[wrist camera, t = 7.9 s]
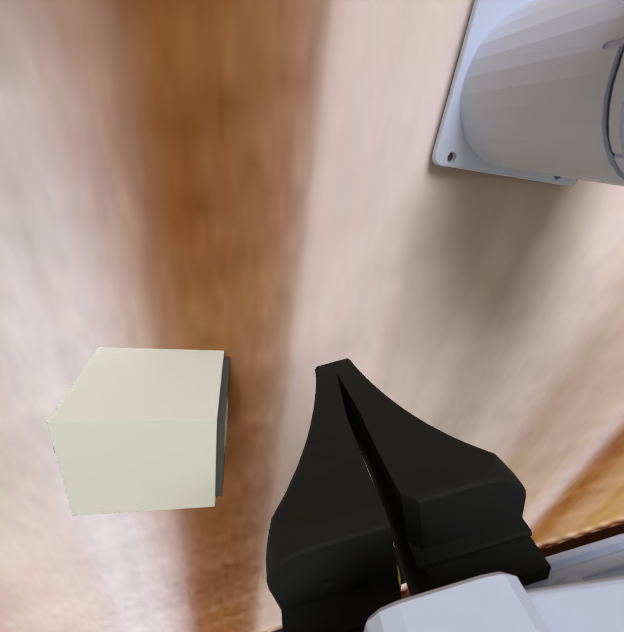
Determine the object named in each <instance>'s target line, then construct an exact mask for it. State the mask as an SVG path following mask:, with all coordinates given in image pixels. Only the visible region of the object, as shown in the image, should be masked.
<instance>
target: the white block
mask: <svg viewBox="0 0 624 632" xmlns="http://www.w3.org/2000/svg"><path fill="white" fill-rule="evenodd" d="M229 365H230V357H224V351H217V350H181V349H145V348H109V347H98V348H97V349H96V351H95V352H94V354H93V355H92V357H91V358H90V360H89V361H88V362H87V364H86V365H85V367H84V368H83V370H82V371H81V373H80V374H79V376H78V377H77V379H76V380H75V382H74V383H73V384H72V386H71V387H70V389H69V390H68V392H67V393H66V395H65V396H64V398H63V399H62V401H61V402H60V404H59V405H58V406H57V408H56V409H55V411H54V412H53V414H52V415H51V417H50V418H49V420H48V421H47V425H48V429H49V432H50V436H51V439H52V443H53V447H54V450H55V454H56V457H57V461H58V464H59V468H60V472H61V475H62V479H63V482H64V486H65V490H66V493H67V497H68V500H69V504H70V508H71V511H72V515H73V516H75V515H90V514H106V513H121V512H137V511H152V510H167V509H183V508H198V507H214V506H215V497H216V496H222V490H223V475H224V460H225V453H224V443H225V420H226V406H227V394H228V389H229Z"/></svg>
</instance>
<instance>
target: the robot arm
mask: <svg viewBox="0 0 624 632" xmlns="http://www.w3.org/2000/svg"><path fill="white" fill-rule="evenodd" d="M451 152H452V154H453V158H452V160H451V161H449V162H448V160H447V158H448V155H449V154H450V153H451ZM432 160H433V162H434V164H436V165H439V166H445V167H451V168H457V169H464V170H470V171H476V172H483V173H489V174H495V175H501V176H508V177H514V178H520V179H527V180H533V181H539V182H546V183H552V184H558V185H564V186H571V185H573V184H574V183H575V182H576V181H577V180H578V179H580V180H586V181H593V182H599V183H606V184H613V185H619V186H624V0H475V2H474V5H473V9H472V12H471V16H470V20H469V23H468V27H467V31H466V34H465V38H464V41H463V45H462V49H461V52H460V56H459V60H458V63H457V67H456V70H455V74H454V78H453V81H452V85H451V88H450V92H449V96H448V99H447V103H446V107H445V110H444V114H443V117H442V121H441V125H440V128H439V132H438V136H437V139H436V143H435V146H434V150H433V154H432ZM554 176H556V177H555V178H554ZM315 373H316V394H315V403H314V410H313V415H312V420H311V425H310V429H309V433H308V437H307V440H306V443H305V447H304V450H303V452H302V455H301V458H300V461H299V464H298V466H297V469H296V471H295V473H294V475H293V478H292V480H291V482H290V484H289V487H288V489H287V491H286V493H285V495H284V497H283V499H282V500H281V502H280V504H279V506H278V508H277V510H276V511H275V513H274V515H273V517H272V519H271V524H270V529H269V535H268V542H267V553H266V572H267V584H268V587H269V590H270V592H271V593H272V595H273V597H274V598H275V600H276V602H277V603H278V605H279V607H280V608H281V611H282V625H283V632H624V533H623V534H620V535H617V536H614V537H610V538H607V539H604V540H601V541H598V542H594V543H591V544H587V545H584V546H581V547H578V548H575V549H571V550H568V551H565V552H561V553H558V554H555V555H551V556H548V557H544V555H543V554H542V553H541V551H540V550H539V548H538V547H537V545H536V544H535V542H534V541H533V540H532V538H531V537H530V536H532V532H531V529H530V528H529V527H528V525H527V524H526V522H525V521H524V520H523V518H522V515H523V510H524V504H525V499H526V490H525V488H524V487H523V485H522V483H521V482H520V481H519V479H518V478H517V477H516V476H515V474H514V473H513V472H512V471H511V470H510V469H509V468H508V467H507V466H506V465H505V464H504V463H503V462H502V461H501V460H500V459H499V458H498V457H497V456H496V455H495V454H494V453H491V452H488V451H486V450H483V449H480V448H478V447H475V446H472V445H470V444H467V443H465V442H462V441H460V440H458V439H456V438H454V437H451V436H449V435H447V434H446V433H444V432H442V431H440V430H438V429H436V428H434V427H432V426H430V425H428V424H427V423H425V422H423V421H422V420H420V419H418V418H417V417H415V416H414V415H412V414H411V413H409V412H407V411H406V410H404V409H403V408H402V407H400V406H399V405H398V404H396V403H395V402H394V401H392V400H391V399H390V398H388V397H387V396H386V395H385V394H384V393H382V392H381V391H380V390H379V389H378V388H377V387H376V386H374V385H373V384H372V383H371V382H370V381H369V380H368V379H367V378H366V377H365V376H364V375H363V374H362V373H361V372H360V371H359V370H358V369H357V368H356V367H355V365H354V364H353V363H352V362H351V360H349V359H343V360H339V361H336V362H332V363H328V364H325V365H321V366H317V367H316V369H315ZM361 454H362V455H361ZM363 459H364V460H363ZM364 461H365V462H364ZM365 463H366V465H365ZM366 466H367V467H366ZM367 468H368V470H369V472H368V470H367ZM369 473H370V474H369ZM370 475H371V477H370ZM371 478H372V479H371ZM372 480H373V481H372ZM373 483H374V484H373ZM393 543H394V545H393ZM394 546H395V549H396V552H397V555H398V558H399V561H400V564H401V567H402V571H403V574H404V577H405V580H406V583H407V586H408V589H409V593H410V596H411V597H408V598H405V599H401V592H400V586H399V580H398V576H399V575H398V569H397V563H396V557H395V551H394Z"/></svg>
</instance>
